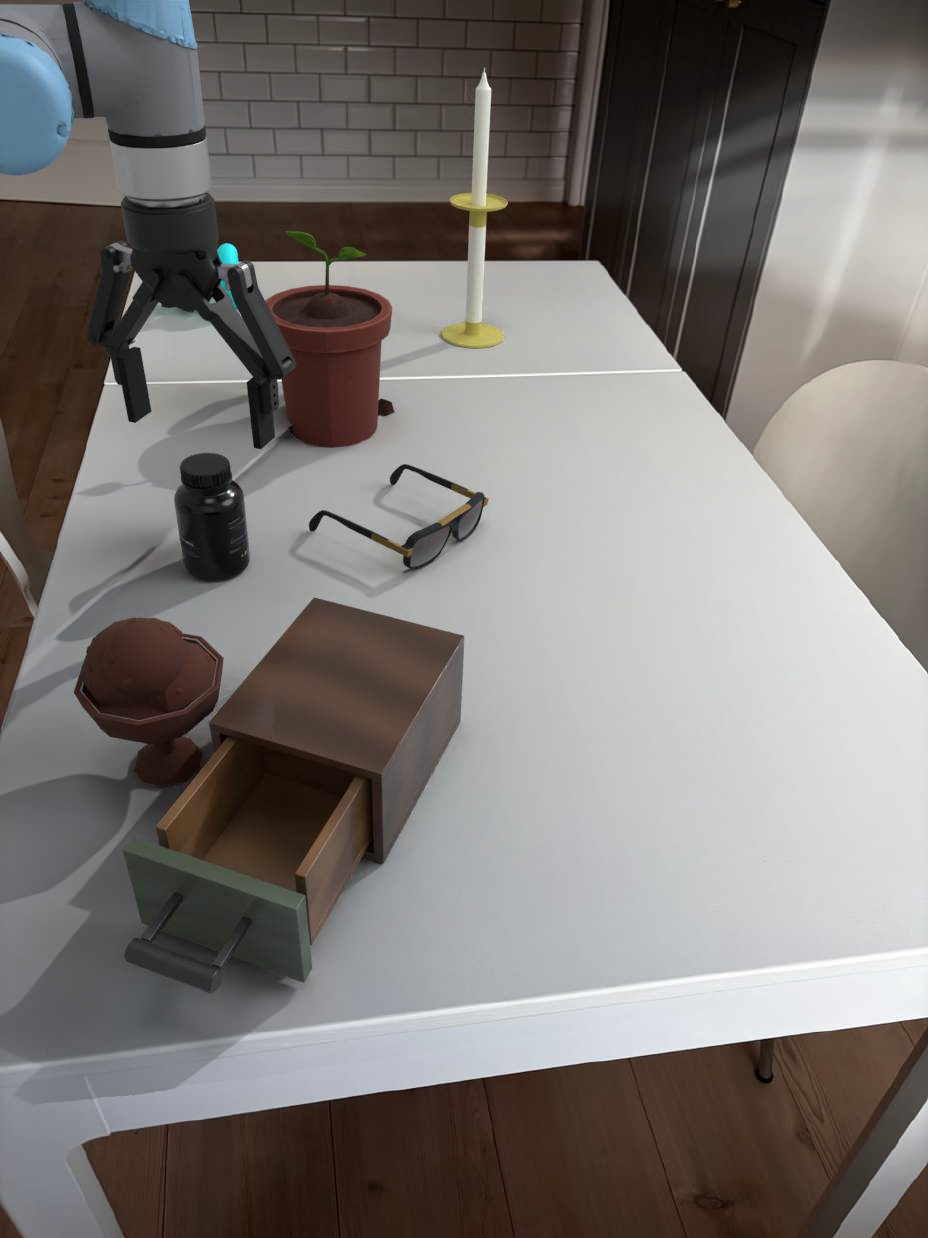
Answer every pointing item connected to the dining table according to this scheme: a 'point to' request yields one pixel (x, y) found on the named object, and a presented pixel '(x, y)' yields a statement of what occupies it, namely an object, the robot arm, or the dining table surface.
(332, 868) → the drawer
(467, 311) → the candle
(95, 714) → the ice cream bowl
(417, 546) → the sunglasses
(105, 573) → the dining table surface
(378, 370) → the potted plant
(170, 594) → the dining table surface
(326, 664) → the cabinet
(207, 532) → the supplement bottle
